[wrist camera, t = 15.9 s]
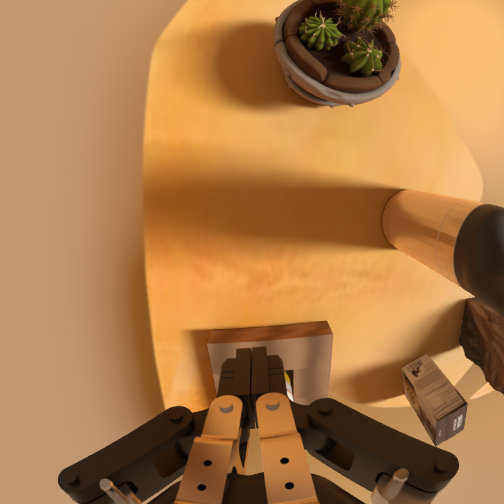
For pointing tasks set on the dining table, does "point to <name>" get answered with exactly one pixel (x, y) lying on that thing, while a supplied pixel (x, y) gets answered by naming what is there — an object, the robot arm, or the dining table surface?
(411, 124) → the dining table surface
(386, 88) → the flowerpot
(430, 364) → the coffee box
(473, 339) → the owl
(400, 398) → the dining table surface
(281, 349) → the socket board
